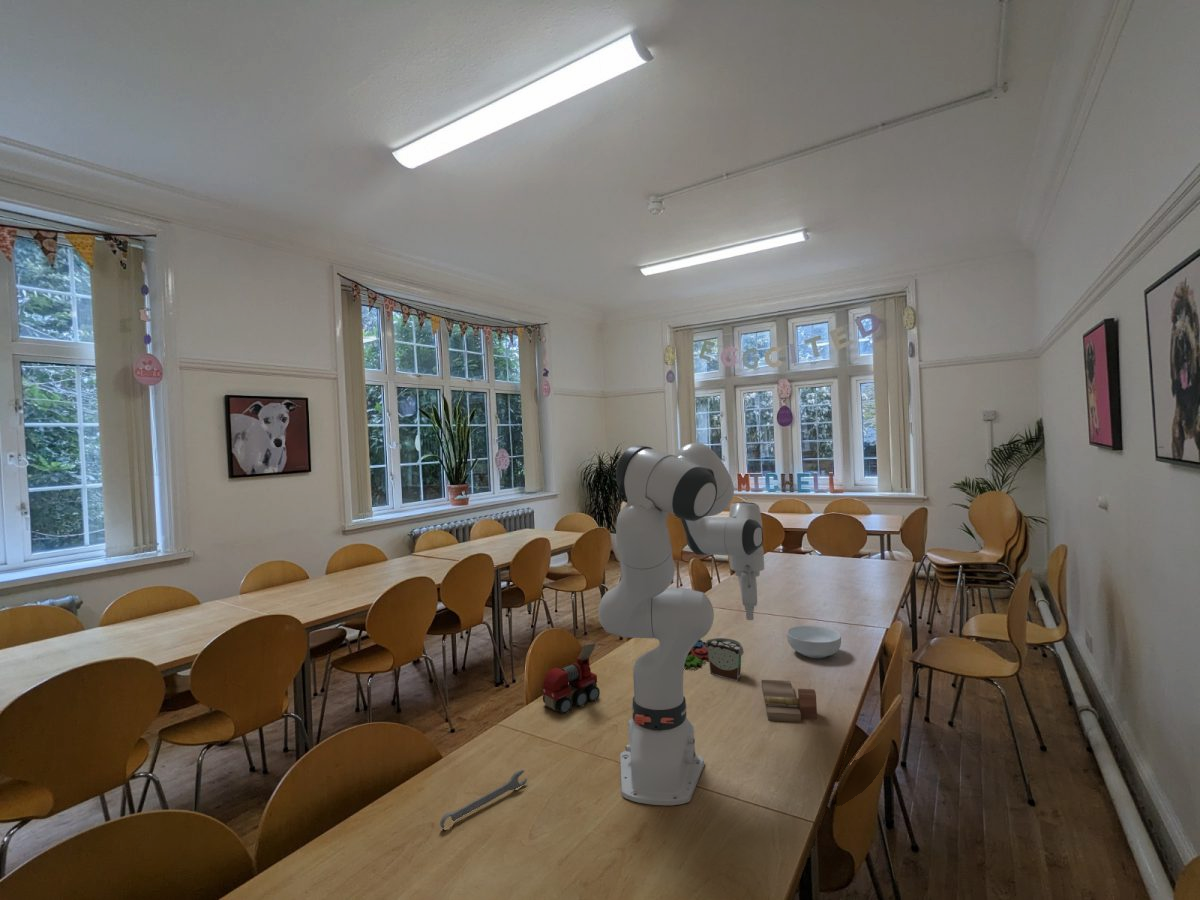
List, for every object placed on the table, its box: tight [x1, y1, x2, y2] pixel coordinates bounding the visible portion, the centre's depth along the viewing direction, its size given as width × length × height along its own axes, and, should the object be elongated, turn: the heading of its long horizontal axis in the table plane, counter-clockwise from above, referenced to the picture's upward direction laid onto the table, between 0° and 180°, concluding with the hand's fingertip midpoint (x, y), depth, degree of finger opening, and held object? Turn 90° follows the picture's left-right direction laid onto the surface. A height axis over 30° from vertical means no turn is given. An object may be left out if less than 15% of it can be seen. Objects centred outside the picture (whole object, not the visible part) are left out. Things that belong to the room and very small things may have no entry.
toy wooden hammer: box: [763, 688, 818, 720], centre depth 143 cm, size 4×13×6 cm, turn 76°
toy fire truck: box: [541, 642, 601, 715], centre depth 154 cm, size 11×16×18 cm
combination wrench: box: [440, 769, 528, 829], centre depth 111 cm, size 4×1×20 cm
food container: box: [705, 637, 745, 682], centre depth 170 cm, size 12×6×10 cm, turn 47°
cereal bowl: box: [786, 624, 842, 659], centre depth 183 cm, size 17×17×7 cm
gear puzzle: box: [684, 639, 709, 671], centre depth 183 cm, size 31×16×4 cm, turn 139°
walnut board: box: [760, 679, 802, 723], centre depth 150 cm, size 20×8×2 cm, turn 168°
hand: (749, 614), depth 147 cm, fingers open, 8 cm apart
